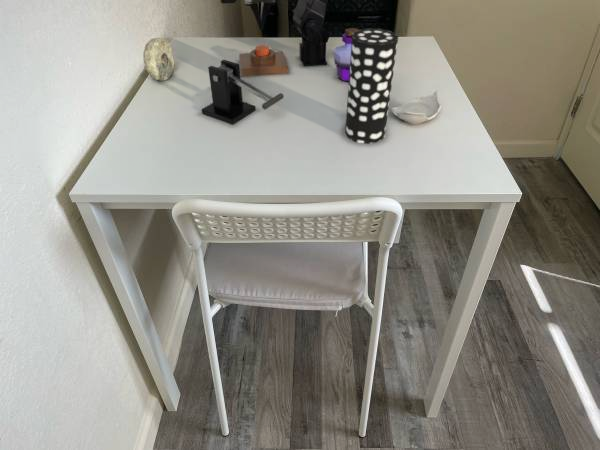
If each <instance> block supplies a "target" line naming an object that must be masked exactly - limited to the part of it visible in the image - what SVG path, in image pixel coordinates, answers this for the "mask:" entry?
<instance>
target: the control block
mask: <svg viewBox="0 0 600 450" xmlns="http://www.w3.org/2000/svg"><path fill="white" fill-rule="evenodd" d="M238 54H239V55H238V56H239V66H240V73H241V77H243V78H245V77H257V76H258V77H259V76H273V75H287V74H289V65H288V62H287V58H286V56H285V52H284V50H281V51H279V50H278V51H275V50H273V49H271V48H269V55H266V56H259V55H256V50H255V49H252V50H251V51H250V52H248V53H238Z"/></svg>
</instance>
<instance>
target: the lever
mask: <svg viewBox="0 0 600 450" xmlns="http://www.w3.org/2000/svg"><path fill="white" fill-rule="evenodd" d="M217 68H220V69H224V70H227V77H228V82H229V81H231V82H233V83H235V84H237V85H238V86H240V87H241V88H242V89H243V90H245V91H247V92H249V93H251V94H252V95H254V96H256V97H257V98H259V99H261V100H263V101H264V103H262V104H261V108H262V110H267V109H269V108H271V107H273V106H274V105H275V104H277V103H278V102H280V101H281V100H283V99H284V94H283V93H282V92H281V93H278V94H276V95H275V96H272V95H270V94H268V93H266V92H265V91H263V90H261V89H259V88H258V87H256V86H254V85H252V84H251V83H249V82H247V81H245V80H243V79H242V78H241V77H240V78H241V79H240V78H238V77H236V76H235V75H233V69H231V68H229V67H227V66H225V65H224V64H223V65H221V64H220V65H219V66H217Z"/></svg>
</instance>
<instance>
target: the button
mask: <svg viewBox="0 0 600 450" xmlns="http://www.w3.org/2000/svg"><path fill="white" fill-rule="evenodd" d="M269 49H270V46H268V45H265V44H260V45H256V46H255V48H254V50H256V55H259V56H266V55H269Z"/></svg>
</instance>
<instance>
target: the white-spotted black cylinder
mask: <svg viewBox="0 0 600 450" xmlns="http://www.w3.org/2000/svg"><path fill="white" fill-rule="evenodd" d="M398 42H399V36H398V34H396V33H395V32H393V31H390V30H387V29H382V28H363V29H358V31H356V32H354V33H353V35H352V46H351V60H350V73H349V82H348V88H347V89H348V90H347V102H346V116H345V129H344V130H345V131H344V134H345V136H346V137H347V139H349V140H350V141H352V142H355V143H358V144H367V145H368V144H375V143H379V142H381V141H383V140H384V138H385V136H386V131H387V124H388V123H387V122H388V115H389V107H390V100H391V94H392V86H393V78H394V72H395V64H396V55H397V49H398Z"/></svg>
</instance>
